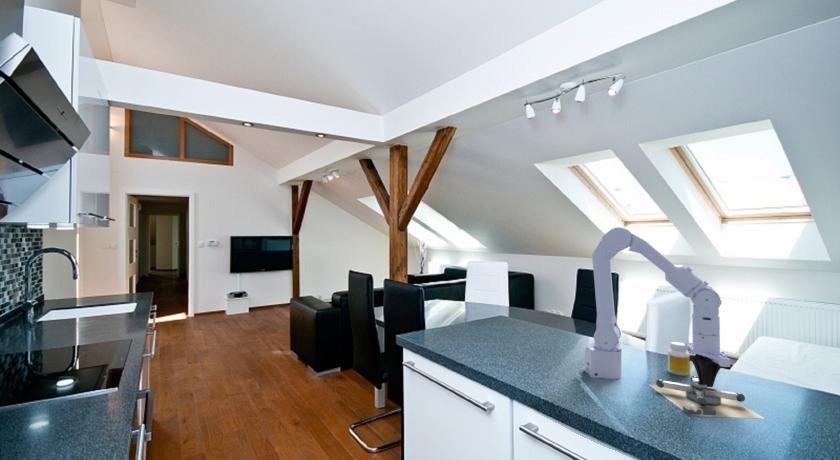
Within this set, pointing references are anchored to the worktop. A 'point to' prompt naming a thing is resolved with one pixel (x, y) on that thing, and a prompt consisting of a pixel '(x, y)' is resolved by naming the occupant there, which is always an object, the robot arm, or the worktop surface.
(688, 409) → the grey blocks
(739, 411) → the stand plate
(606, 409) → the worktop surface
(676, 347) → the supplement bottle
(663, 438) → the worktop surface
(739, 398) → the cam capstan
